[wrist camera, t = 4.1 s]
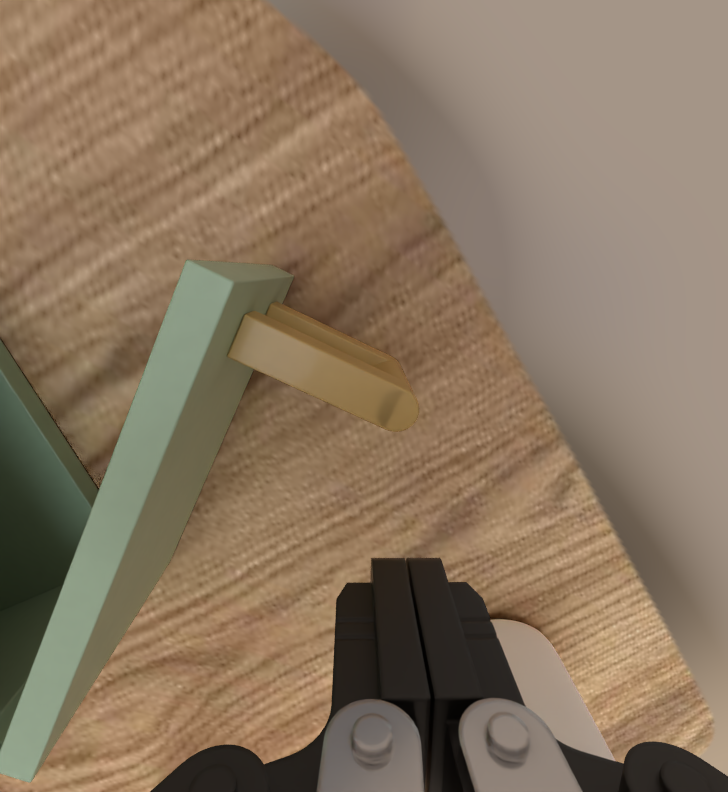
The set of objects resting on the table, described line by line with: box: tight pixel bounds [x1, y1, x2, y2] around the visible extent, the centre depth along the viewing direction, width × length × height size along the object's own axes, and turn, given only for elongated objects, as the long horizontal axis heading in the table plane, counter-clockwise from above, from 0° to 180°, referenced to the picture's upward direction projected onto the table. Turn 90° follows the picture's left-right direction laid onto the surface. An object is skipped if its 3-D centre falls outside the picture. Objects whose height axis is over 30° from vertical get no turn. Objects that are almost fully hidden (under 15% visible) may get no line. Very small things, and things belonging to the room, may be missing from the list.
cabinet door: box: [0, 260, 419, 782], centre depth 16 cm, size 6×14×10 cm, turn 154°
